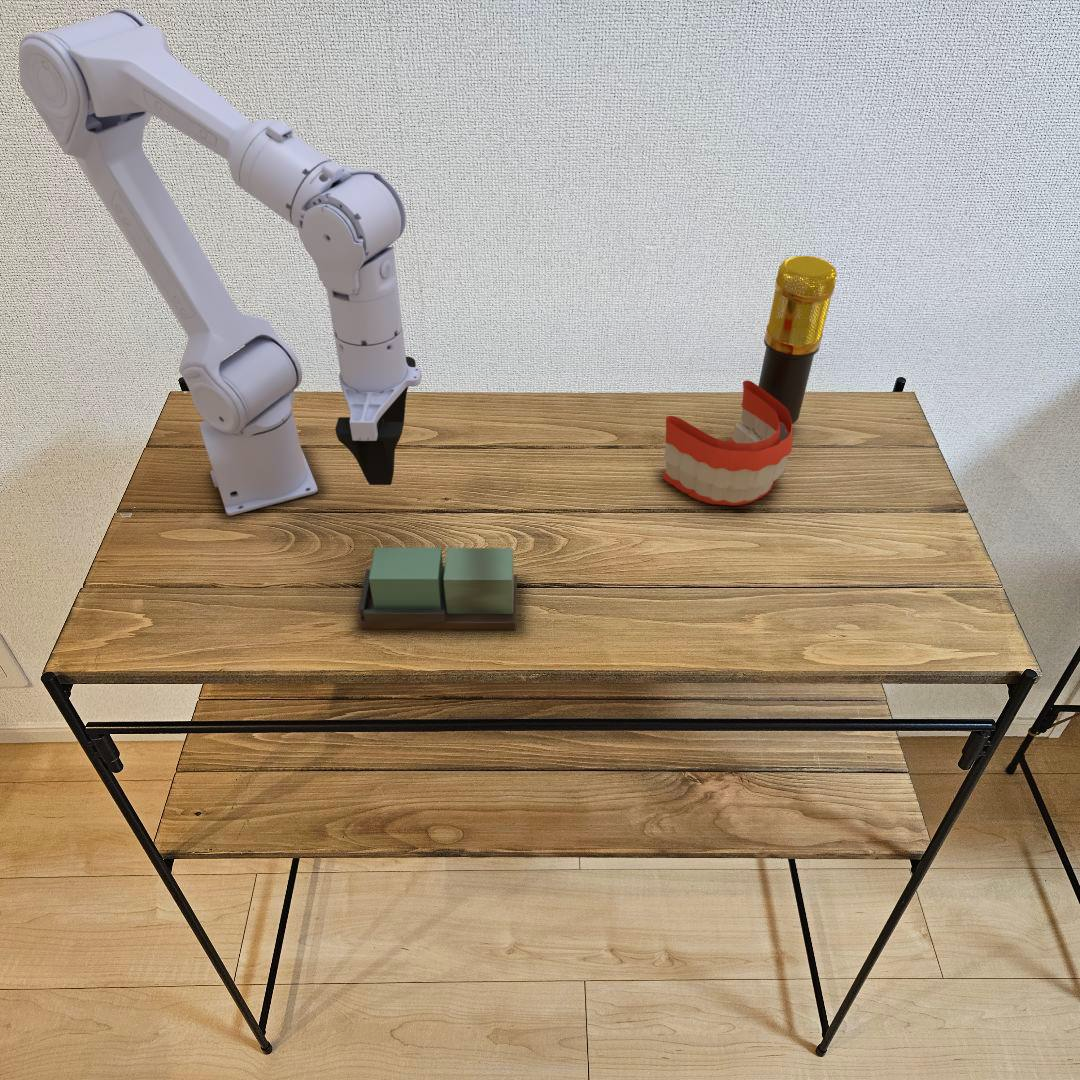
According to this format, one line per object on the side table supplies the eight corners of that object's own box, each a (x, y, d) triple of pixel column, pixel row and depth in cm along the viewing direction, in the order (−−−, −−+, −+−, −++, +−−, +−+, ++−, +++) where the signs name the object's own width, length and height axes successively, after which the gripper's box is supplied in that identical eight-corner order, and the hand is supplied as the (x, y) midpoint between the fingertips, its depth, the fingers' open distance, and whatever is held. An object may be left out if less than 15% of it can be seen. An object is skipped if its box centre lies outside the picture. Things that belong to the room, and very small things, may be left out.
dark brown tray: (361, 629, 80) (352, 587, 76) (370, 581, 85) (362, 540, 81) (515, 629, 80) (514, 587, 76) (517, 582, 85) (516, 540, 81)
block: (375, 613, 80) (368, 578, 77) (380, 581, 83) (374, 547, 80) (441, 613, 80) (437, 579, 77) (444, 581, 83) (441, 547, 80)
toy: (723, 532, 90) (735, 470, 84) (655, 479, 96) (662, 418, 90) (807, 485, 95) (823, 424, 90) (737, 438, 101) (749, 378, 96)
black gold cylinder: (867, 438, 101) (919, 275, 88) (754, 443, 101) (788, 280, 87) (850, 409, 106) (897, 249, 92) (742, 414, 105) (772, 253, 91)
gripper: (405, 376, 69) (420, 507, 78) (424, 287, 79) (435, 412, 89) (314, 375, 69) (340, 506, 78) (346, 286, 79) (365, 411, 89)
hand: (386, 456), depth 84 cm, fingers open, 7 cm apart
